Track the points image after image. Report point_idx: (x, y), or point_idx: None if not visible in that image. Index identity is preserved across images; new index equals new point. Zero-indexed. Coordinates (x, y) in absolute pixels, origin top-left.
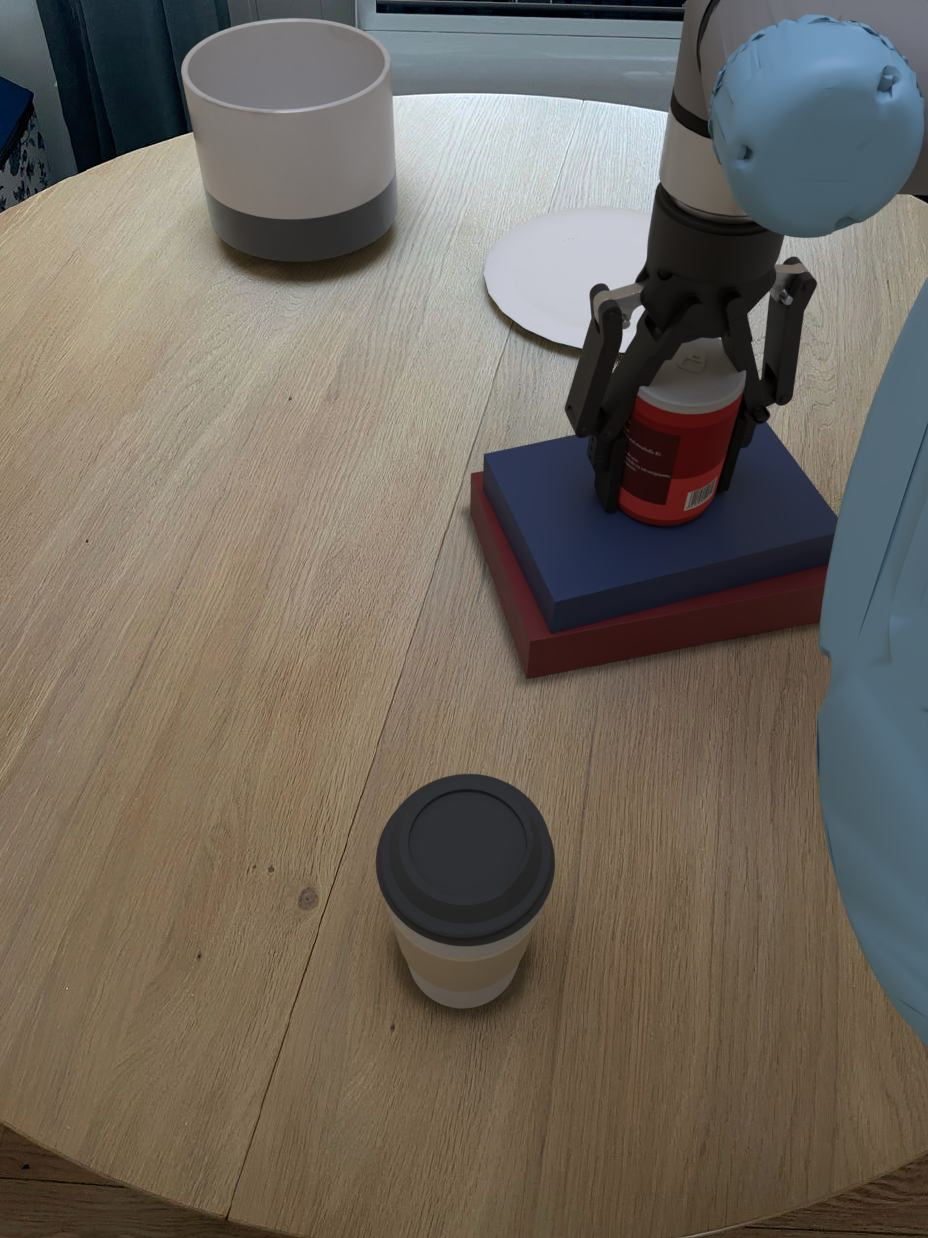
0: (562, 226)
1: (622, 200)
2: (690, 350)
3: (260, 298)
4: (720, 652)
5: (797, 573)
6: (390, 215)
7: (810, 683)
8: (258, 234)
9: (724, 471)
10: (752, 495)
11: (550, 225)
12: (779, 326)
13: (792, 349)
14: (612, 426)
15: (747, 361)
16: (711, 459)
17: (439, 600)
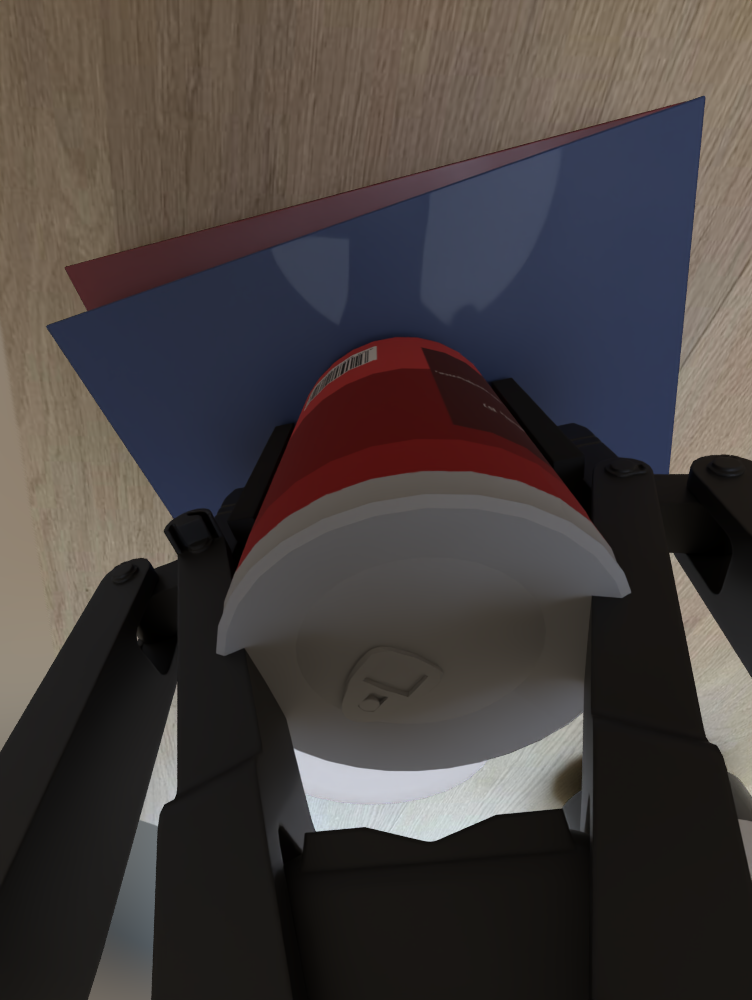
0: (406, 788)
1: (343, 803)
2: (385, 715)
3: (707, 724)
4: (296, 188)
5: (159, 285)
6: (579, 806)
7: (148, 103)
8: (733, 796)
9: (283, 445)
10: (231, 419)
11: (418, 789)
12: (52, 853)
13: (32, 735)
14: (629, 485)
15: (206, 690)
16: (329, 407)
17: (693, 314)
